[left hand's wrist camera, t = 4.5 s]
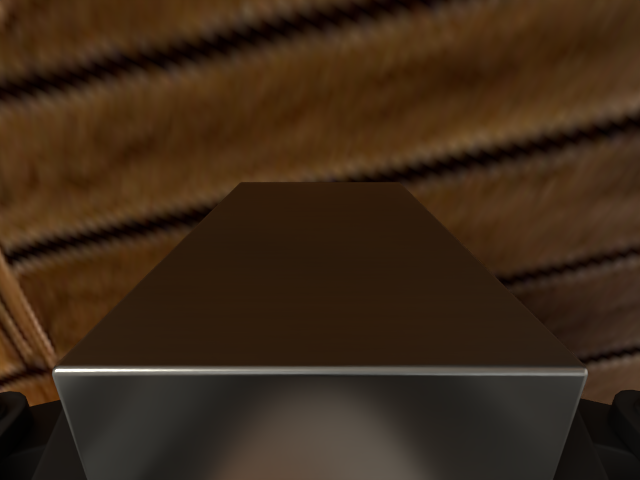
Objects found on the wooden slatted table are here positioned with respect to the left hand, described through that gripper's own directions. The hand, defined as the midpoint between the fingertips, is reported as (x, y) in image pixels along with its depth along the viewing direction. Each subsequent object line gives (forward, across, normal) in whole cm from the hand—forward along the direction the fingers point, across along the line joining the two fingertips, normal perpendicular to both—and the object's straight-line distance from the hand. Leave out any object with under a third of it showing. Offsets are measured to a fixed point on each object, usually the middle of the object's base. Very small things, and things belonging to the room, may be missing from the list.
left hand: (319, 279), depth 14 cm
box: (+1, 0, -8) cm, 8 cm away
